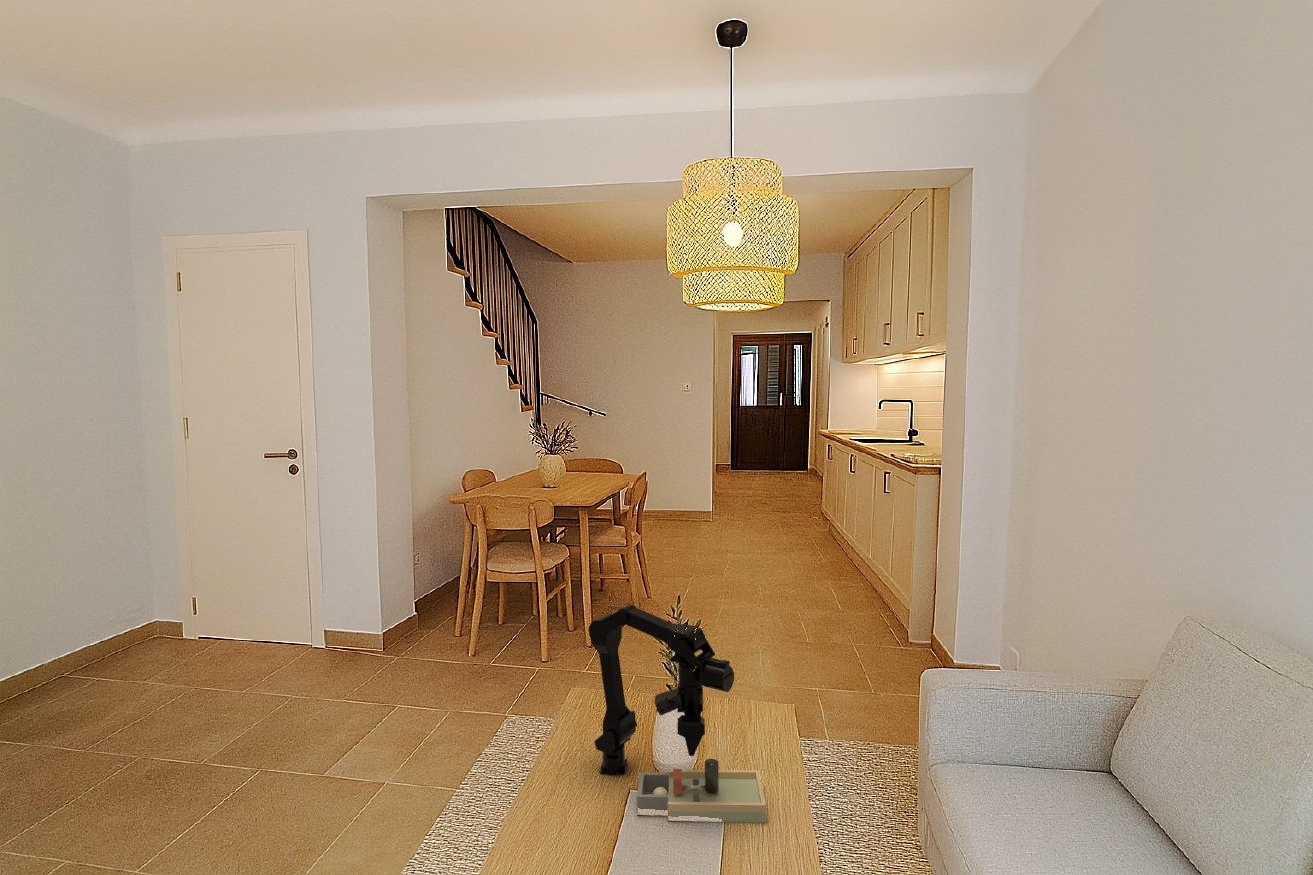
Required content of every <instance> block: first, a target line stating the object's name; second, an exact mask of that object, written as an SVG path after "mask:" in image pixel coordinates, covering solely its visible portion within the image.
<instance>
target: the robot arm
mask: <svg viewBox="0 0 1313 875" xmlns="http://www.w3.org/2000/svg"><path fill="white" fill-rule="evenodd" d="M686 625H687V629H686V630H685V629H684V628H685V627H686ZM624 626H627V627H630V628H632V629H634V630H637V631H639V632H641V633H644V634H646V635H648V636H650V637H653V638H655V639H657V640H659V641H661V642H663V643H664V644H666V646H667V647H668V648H669V650H670V651H672V652H673V653H674V655H673V656H672V657H670V658H669V661H670V662H672V663H677V664H678V665H677V667H678V668H677V672H678V674H677V675H678V677H677V678H678V682H677V684H676V685H677V686H676V687H677V688H674V689H669V690H666V691H664V692H661V693H658V694H656V695H655V696H654V705H655V708H656V712H657V713H658V715H659V716H664V715H665V714H668V713H671V712H673V711H675V710H677V713H683V714H681V715H680V716H679V717H678V718H677V723H676V724H677V725H676V726H677V735H678V736H680V737H683V738H684V740H685V744H686V748H687V752H688V756H690V757H694V756H695V754H696V751H697V750H698V747H699V745H700V742H701V741H702V738H703V737H704V736H705V735H706V724H705V722H706V721H705V718H704V717H703V716H702V715H701V714H702V712H704V689H703V688H704V687H705V688H708V689H713V690H717V691H721V692H724V693H729V692H730V691H731V689H732V687H733V685H734V681H735V672H734V669H733V667H732V666H731V665H730V661H729V660H726V659H718V658H713V657H714V656H716V653H715V651H714V650H713V648H712V646H711V644H710V643H709V641H708V640H707V638H706V635H705V633H704V630H703V629H702V628H700V627H699V626H696V625H691V624H686V623H673V622H671V621H669V620H666V619H663V618H661V617H659V616H658V615H657V616H656V615H654V614H652V613H649V612H647V611H644V610H642V609H641V608H637V606H636V605H633V604H627V605H625V606H623V607H621V608H619V609H618V610H617V611H616V612H614V613H613V614H612V613H608V614H606V615H604V616H601V617H599V618H597V619H595V620H593V621H592V622H591V623H590V624H589V626H588V635H589V639H590V643H591V645H592V647H593V648H594V649H595V651H597V653H598V656H599V657H598V658H599V663H600V670H601V678H602V686H603V693H604V699H605V707H606V710H605V714H604V716H603V721H602V734H601V735H600V736H599V737H597V739H595V740H594V746H595V749H596V750H598V751H600V752H602V761H601V765H600V770H599V774H600V775H625V774H626V773H627V765H628V759H627V758H626V756H625V752H626V751H625V748H626V747H625V744H626V743H627V742H629V741H631V738H632V736H633V735H634V734H635V733H636V731H637V730H636V729H637V728H636V727H638V724H637V721H636V712H635V710H630V709H629V707H628V706H627V704H626V698H625V691H624V682H623V677H622V670H621V669H622V668H621V661H620V655H619V654H620V653H619V647H620V645H621V641H622V636H623V635H622V634H623V632H622V631H623V627H624ZM696 627H697V629H696V633H694V632H695V628H696ZM675 629H677V630H678V631H676V632H675ZM682 631H683V634H682ZM674 635H675V637H674ZM695 637H696V640H695ZM700 651H701V653H699V652H700ZM697 653H699V654H698V655H695V654H697ZM695 666H697V668H696V669H695ZM694 669H695V671H694V672H693V670H694Z"/></svg>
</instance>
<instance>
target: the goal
mask: <svg viewBox="0 0 1313 875" xmlns="http://www.w3.org/2000/svg"><path fill="white" fill-rule="evenodd" d="M637 787H638V788H637V793H636V794H637V795H636V796H637V797H636V801H637V802H636V804H637V805H636V806H637V808H640V809H655V810H664V811H665V810H668V795H653V792H654V790H655V789H656V788H658V787H663V788H665V789H666V791H667V793H668V792H669V772H641V771H640V772H639V778H638V786H637ZM644 792H650V793H646V794H645V793H644ZM643 793H644V794H643ZM637 808H636V809H637Z"/></svg>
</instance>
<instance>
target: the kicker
mask: <svg viewBox="0 0 1313 875" xmlns="http://www.w3.org/2000/svg"><path fill="white" fill-rule="evenodd" d="M672 770H673V794H682V791H706V792H707V793H709V794H715V793H717V792H718V791H719V760H717V759H715V758H707V759H706V760H705V761H704V770H705V785H682V770H683V768H673V769H672Z"/></svg>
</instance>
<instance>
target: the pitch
mask: <svg viewBox="0 0 1313 875" xmlns="http://www.w3.org/2000/svg"><path fill="white" fill-rule="evenodd" d="M668 773H669V792H668V816H671V817H679V816H699V817H708V818H719V819H722V821H723V822H722V823H741V824H742V823H747V824H748V823H749V824H750V823H752V824H754V823H755V824H757V823H758V824H761V823H763V824H764V823H765V824H766V823H767V804H766V798H765V794H764V788H763V782H762V779H761V773H760V770H758V769H756V770H754V769H751V770H749V769H748V770H745V769H744V770H739V769H738V770H737V769H733V770H732V769H730V770H729V769H728V770H727V769H720V770H719V791H718V792H717V793H715V794H709V793H707V792H706V791H682V794H673V769H669V770H668ZM682 785H705V769H682ZM668 816H667V817H668Z"/></svg>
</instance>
